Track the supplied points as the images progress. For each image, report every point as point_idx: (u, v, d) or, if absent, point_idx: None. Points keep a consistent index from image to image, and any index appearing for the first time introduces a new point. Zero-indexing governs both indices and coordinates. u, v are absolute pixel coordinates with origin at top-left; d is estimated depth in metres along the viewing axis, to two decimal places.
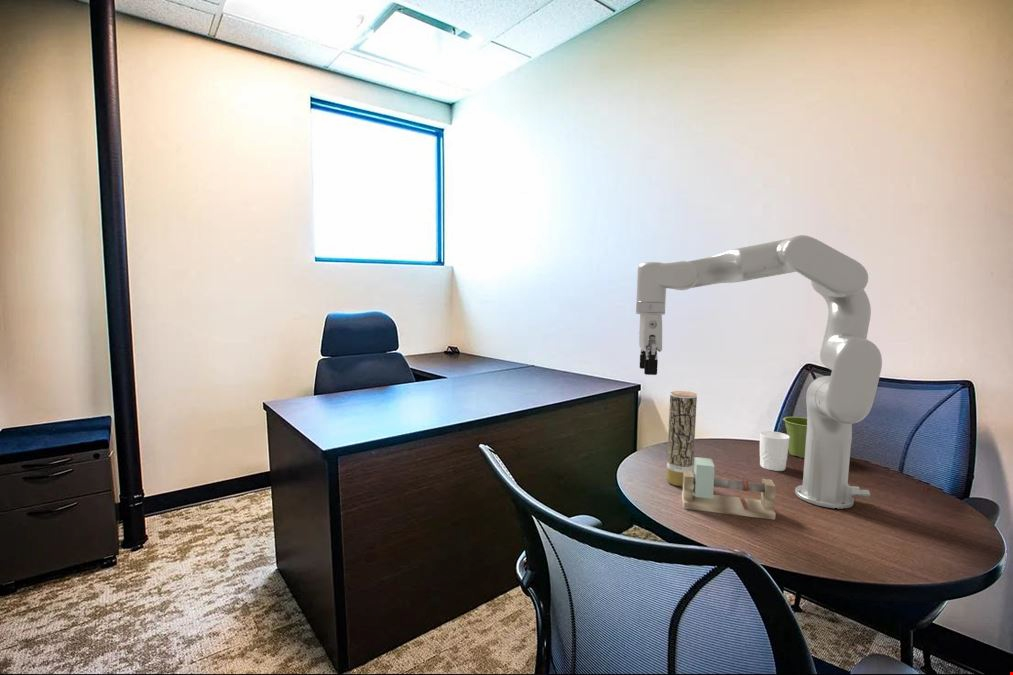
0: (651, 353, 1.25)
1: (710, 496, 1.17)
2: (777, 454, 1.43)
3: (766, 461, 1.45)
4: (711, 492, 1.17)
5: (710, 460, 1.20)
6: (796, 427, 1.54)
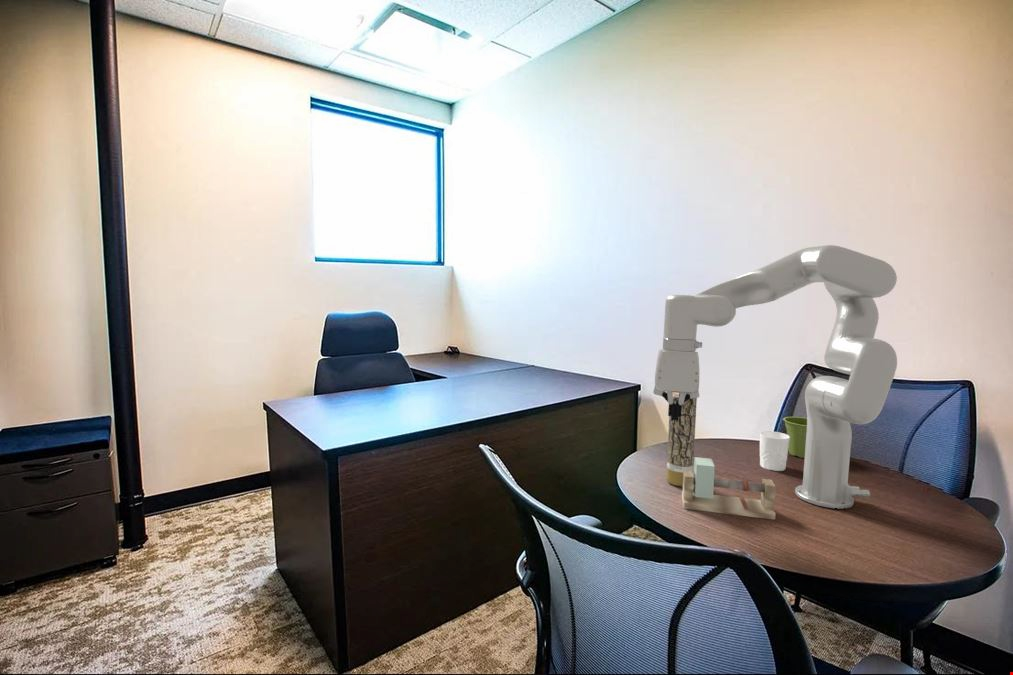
0: (688, 398, 1.19)
1: (710, 496, 1.17)
2: (777, 454, 1.43)
3: (766, 461, 1.45)
4: (711, 492, 1.17)
5: (710, 460, 1.20)
6: (796, 427, 1.54)
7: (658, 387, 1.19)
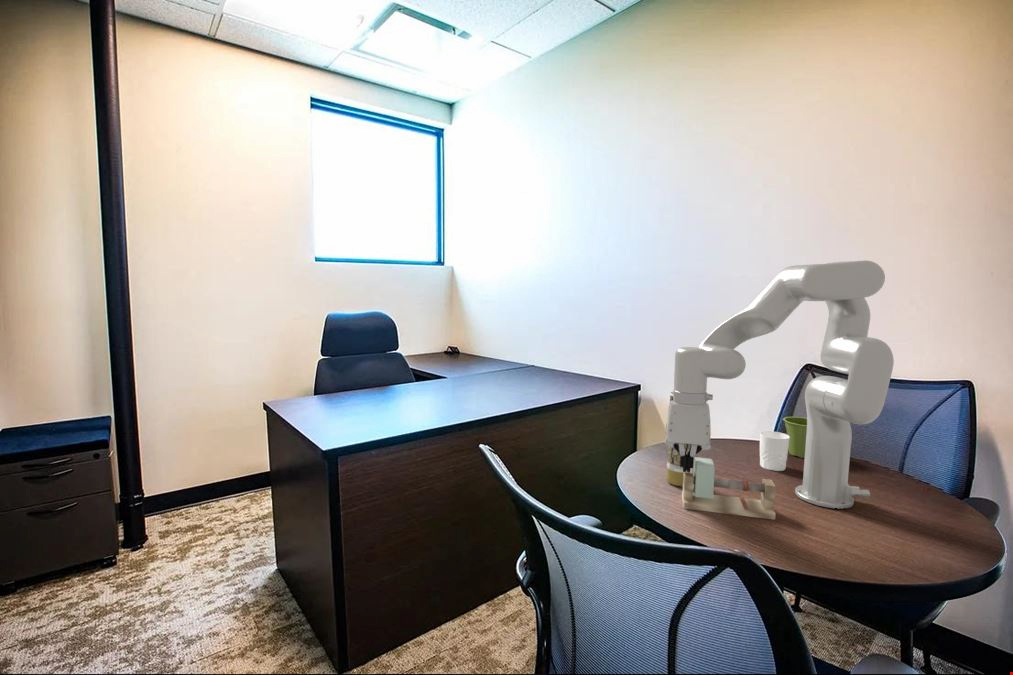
0: None
1: (710, 496, 1.17)
2: (777, 454, 1.43)
3: (766, 461, 1.45)
4: (711, 492, 1.17)
5: (710, 460, 1.20)
6: (796, 427, 1.54)
7: (669, 439, 1.19)
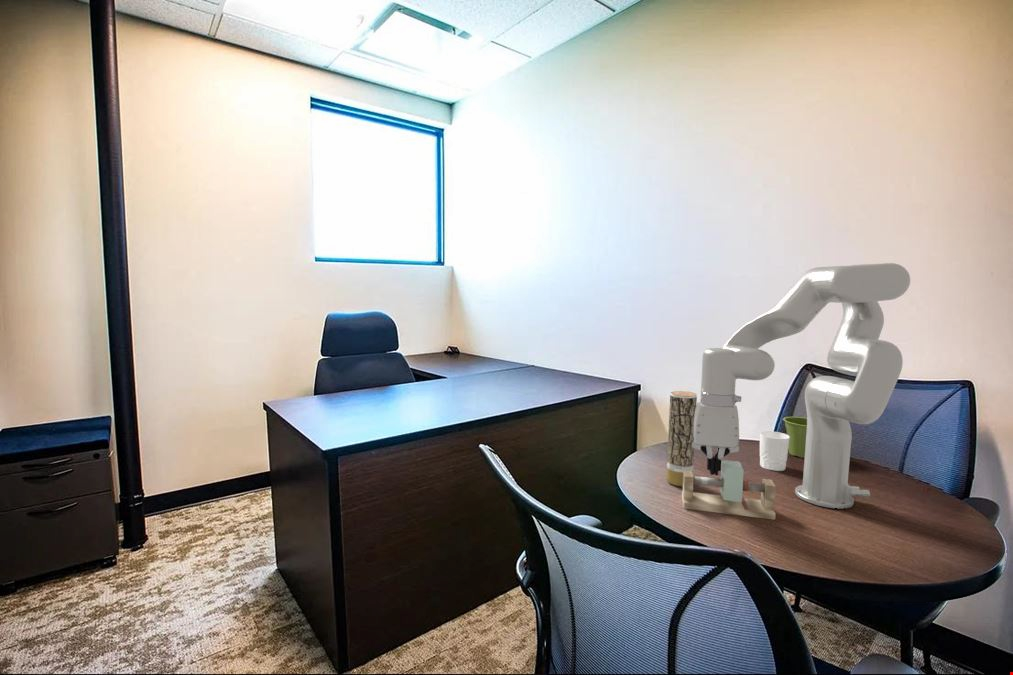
0: None
1: (739, 499, 1.15)
2: (777, 454, 1.43)
3: (766, 461, 1.45)
4: (740, 495, 1.15)
5: (738, 463, 1.19)
6: (796, 427, 1.54)
7: (697, 441, 1.18)
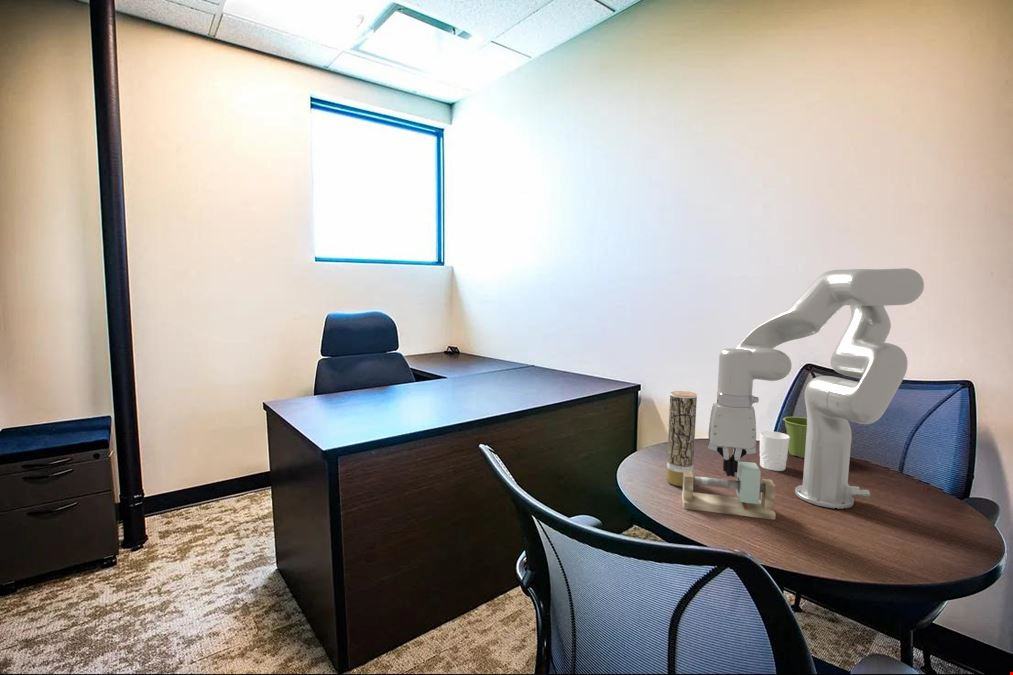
0: None
1: (756, 501, 1.15)
2: (777, 454, 1.43)
3: (766, 461, 1.45)
4: (757, 497, 1.14)
5: (754, 464, 1.18)
6: (796, 427, 1.54)
7: (713, 443, 1.17)
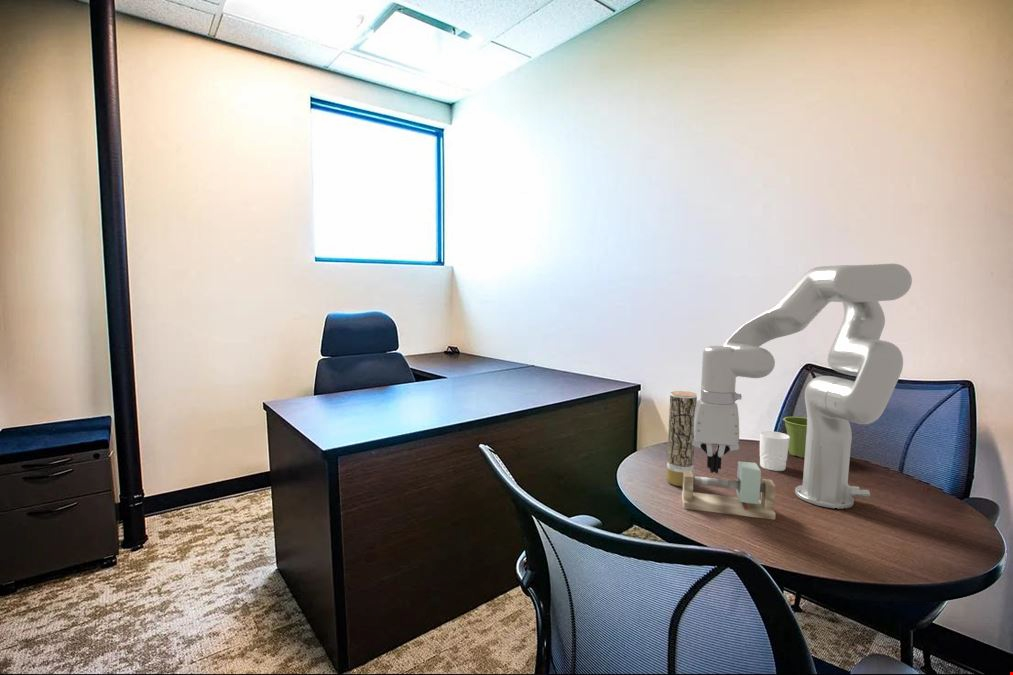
0: None
1: (756, 501, 1.15)
2: (777, 454, 1.43)
3: (766, 461, 1.45)
4: (757, 497, 1.14)
5: (755, 464, 1.18)
6: (796, 427, 1.54)
7: (697, 439, 1.18)
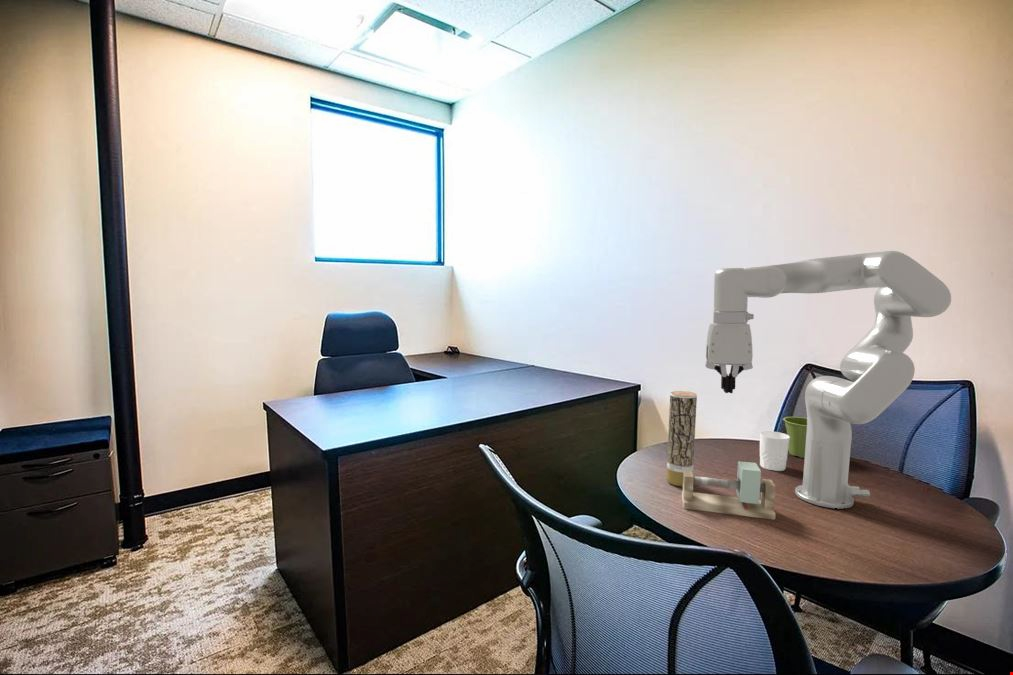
0: (741, 370, 1.20)
1: (756, 501, 1.15)
2: (777, 454, 1.43)
3: (766, 461, 1.45)
4: (757, 497, 1.14)
5: (755, 464, 1.18)
6: (796, 427, 1.54)
7: (711, 361, 1.20)
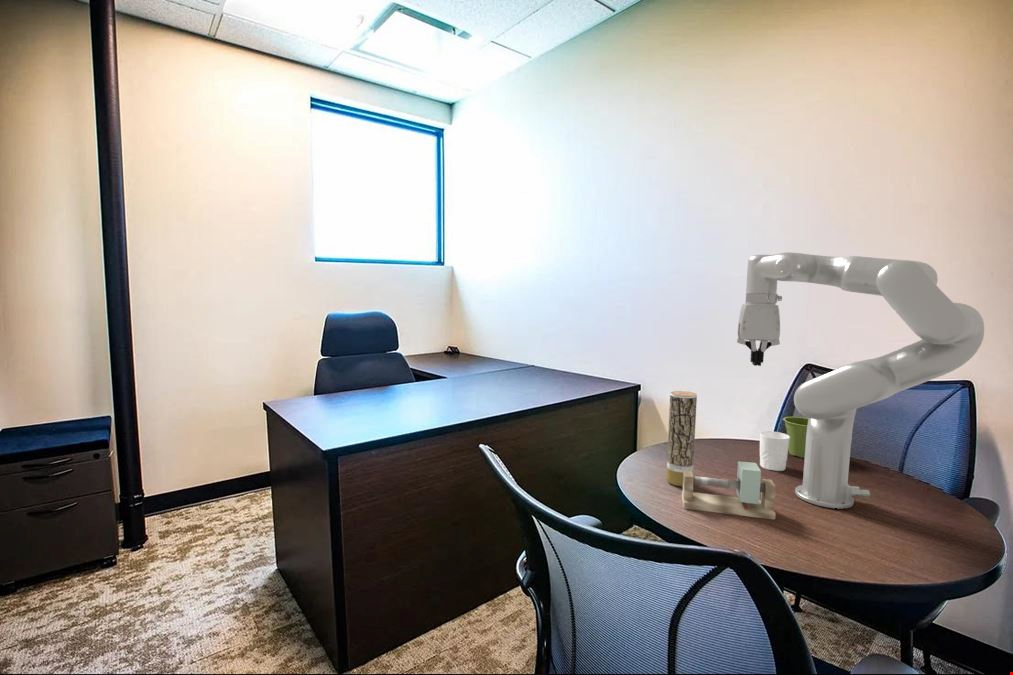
0: (769, 346, 1.35)
1: (756, 501, 1.15)
2: (777, 454, 1.43)
3: (766, 461, 1.45)
4: (757, 497, 1.14)
5: (755, 464, 1.18)
6: (796, 427, 1.54)
7: (743, 336, 1.36)
